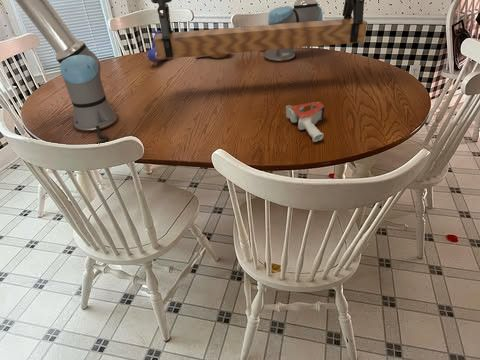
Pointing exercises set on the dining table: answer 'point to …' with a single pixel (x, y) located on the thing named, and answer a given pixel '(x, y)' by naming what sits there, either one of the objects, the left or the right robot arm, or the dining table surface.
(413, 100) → the dining table surface
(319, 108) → the tape dispenser
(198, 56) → the squash
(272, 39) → the thick board
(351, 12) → the right robot arm
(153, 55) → the toy
